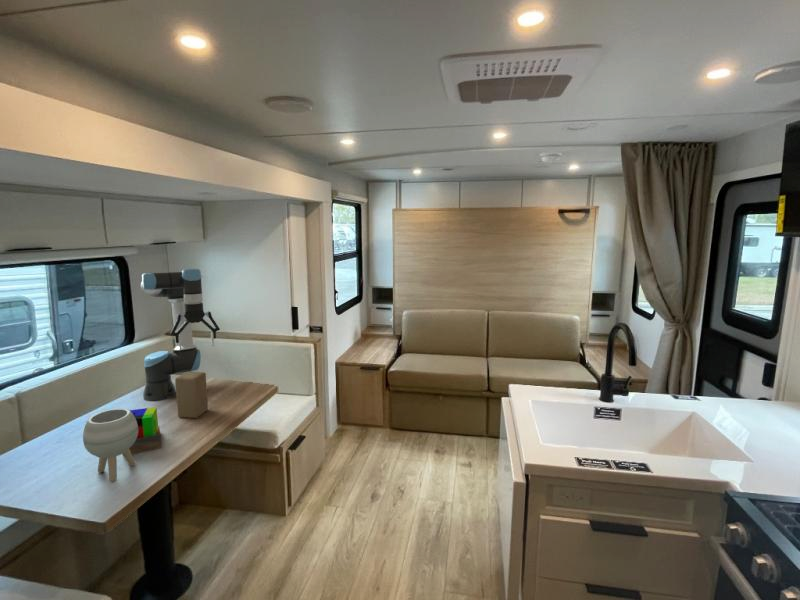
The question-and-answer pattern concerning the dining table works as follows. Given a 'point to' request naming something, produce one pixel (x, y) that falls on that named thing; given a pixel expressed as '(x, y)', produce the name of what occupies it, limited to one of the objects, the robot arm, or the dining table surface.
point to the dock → (146, 443)
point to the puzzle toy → (146, 421)
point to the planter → (111, 438)
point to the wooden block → (191, 394)
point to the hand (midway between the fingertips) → (196, 347)
